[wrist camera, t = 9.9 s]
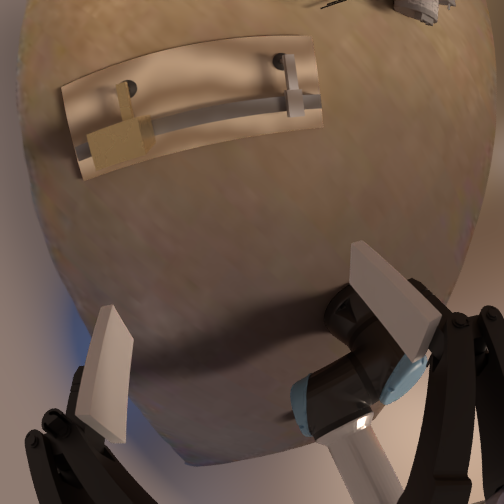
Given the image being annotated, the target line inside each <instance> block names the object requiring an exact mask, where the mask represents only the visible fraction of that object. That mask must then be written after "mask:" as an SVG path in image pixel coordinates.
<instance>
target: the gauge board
mask: <svg viewBox="0 0 504 504" xmlns="http://www.w3.org/2000/svg"><path fill="white" fill-rule="evenodd" d="M122 82H127V83H128V87H129V88H130V90H129V94H130V99H131V104H132V109H133V114H134V118H135V117H139V116H144V115H149V114H150V116H151V121H152V126H153V130H154V135H155V139H156V143H155V144H154V145H153V147H152V148H151V149H150V150H149V152H148V153H147V154H146V155H143V156H140V157H137V158H134V159H130V160H127V161H124V162H121V163H118V164H115V165H112V166H109V167H106V168H103V169H100V170H98V171H96V169H95V166H94V162H93V159H92V155H91V151H90V147H89V144H88V140H87V136H86V135H87V134H90V133H92V132H95V131H97V130H100V129H103V128H105V127H108V126H111V125H114V124H117V123H120V122H123V120H122V116H121V111H120V106H119V101H118V96H117V91H116V84H119V83H122ZM61 89H62V95H63V100H64V106H65V111H66V116H67V120H68V125H69V129H70V133H71V138H72V142H73V145H74V149H75V153H76V157H77V160H78V164H79V167H80V170H81V174H82V177H83V180H84V181H86V180H88V179H91V178H94V177H96V176H99V175H102V174H105V173H108V172H111V171H114V170H117V169H120V168H123V167H126V166H129V165H133V164H136V163H139V162H142V161H146V160H149V159H153V158H156V157H160V156H164V155H168V154H171V153H175V152H179V151H183V150H187V149H192V148H196V147H200V146H205V145H209V144H214V143H219V142H224V141H229V140H235V139H240V138H246V137H252V136H258V135H264V134H271V133H278V132H286V131H294V130H303V129H313V128H323V117H322V106H321V96H320V88H319V80H318V72H317V64H316V57H315V51H314V44H313V38H312V36H258V37H244V38H233V39H224V40H217V41H210V42H203V43H197V44H192V45H187V46H182V47H177V48H172V49H168V50H164V51H160V52H156V53H152V54H148V55H145V56H141V57H138V58H135V59H131V60H128V61H125V62H122V63H119V64H116V65H113V66H111V67H108V68H105V69H102V70H100V71H97V72H95V73H92V74H90V75H87V76H85V77H83V78H80V79H78V80H76V81H74V82H71V83H69V84H67V85H65V86H63V87H61Z"/></svg>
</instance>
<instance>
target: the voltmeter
mask: <svg viewBox="0 0 504 504" xmlns="http://www.w3.org/2000/svg"><path fill="white" fill-rule="evenodd" d="M338 1H339V2H338ZM338 1H334V2H331V3H328V4H327V6H325V7H322V8H321V9H323V8H326V7H328V6H331V5H334V4H337V3H340V2H343V1H346V0H342V1H341V0H338ZM335 2H337V3H335ZM332 3H334V4H332ZM329 4H331V5H329ZM439 4H441V5H448V10H450V6H456V4H455V0H394V9H395V10H396V11H397V12H399V13H401V14H403V15H406V16H408V17H411V18H414V19H417V20H420V22H424V23H426V24H425V25H430V26H433V23H437V19H438V6H439Z"/></svg>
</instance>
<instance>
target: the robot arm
mask: <svg viewBox="0 0 504 504" xmlns="http://www.w3.org/2000/svg"><path fill="white" fill-rule="evenodd" d="M349 284H350V285H349V286H348V287H346V288H344V289H343V290H342V291H341V292H339V293H338V294H337V295H336V296H335V297H334V298H333V300H332V301H331V302H330V304H329V306H328V307H327V309H326V312H325V316H324V322H325V325H326V327H327V328H328V330H329V331H330V333H331V334H332V335H333V336H335V337H336V338H337V339H339V340H340V341H341V342H343V343H344V344H345V345H347V346H348V347H349V349H350V350H351V352H350V353H348V354H347V355H345V356H343V357H341V358H340V359H338V360H336V361H334V362H332V363H331V364H329V365H327V366H325V367H323V368H321V369H320V370H318V371H316V372H314V373H310V374H308V376H306V377H304V378H303V379H301V380H299V381H297V382H296V383H295V384H294V385H293V386H292V388H291V393H290V398H291V405H292V409H293V413H294V416H295V419H296V422H297V424H298V425H299V428H300V430H301V432H302V433H303V435H304V436H306V437H312V436H313V437H314V439H315V441H316V443H319V444H322V445H325V446H327V447H328V449H329V451H330V453H331V455H332V458H333V459H334V462H335V464H336V466H337V468H338V470H339V473H340V475H341V477H342V479H343V481H344V483H345V485H346V487H347V489H348V492H349V494H350V496H351V498H352V500H353V502H354V504H468V501H469V496H470V493H471V488H472V482H471V480H470V479H469V477H468V475H467V473H468V467H469V461H470V455H471V447H472V440H473V431H474V419H475V406H476V411H477V418H478V425H479V433H480V441H481V453H482V475H483V490H484V496H485V500H484V501H480V502H477V503H473V504H504V318H503V316H502V314H501V313H500V311H499V310H498V309H497V308H495V307H493V306H484V307H483V308H482V309H481V312H480V314H479V315H476V316H471V317H467V316H466V315H465V314H463V313H459V312H454V313H452V312H451V311H450V310H449V309H448V308H447V307H446V306H445V305H444V304H443V303H442V302H441V301H440V300H439V299H438V298H437V297H436V296H435V295H433V293H432V292H430V291H429V290H428V289H427V288H426V287H425V286H424V285H423V284H422V283H421V282H419V281H417V280H415V279H413V278H411V279H408V280H406V279H405V278H404V277H403V276H402V275H401V274H400V273H399V272H398V271H397V270H396V269H395V268H393V267H392V266H391V265H390V264H389V263H388V262H387V261H386V260H385V259H384V258H382V257H381V256H380V255H379V254H378V253H377V252H376V251H375V250H373V249H372V248H371V247H370V246H369V245H368V244H367V243H365V242H364V241H363V240H361V241H358V242H354V243H351V260H350V279H349ZM133 341H134V339H133V338H132V336H131V334H130V333H129V331H128V329H127V328H126V326H125V324H124V323H123V321H122V319H121V318H120V316H119V314H118V313H117V311H116V309H115V307H114V305H113V304H112V305H107V306H103V307H101V309H100V312H99V315H98V318H97V322H96V325H95V328H94V332H93V335H92V339H91V343H90V346H89V350H88V354H87V358H86V362H85V366H79V367H78V369H77V371H76V372H75V374H74V377H73V382H72V386H71V390H70V391H71V393H70V395H69V400H68V405H67V410H66V415H65V414H63V412H61V411H60V410H59V409H56V408H55V409H50V410H49V411H47V412H46V413H45V414H44V417H43V419H42V429H43V430H44V431H45V432H47V433H46V434H42V433H41V432H40V431H38V430H35V429H34V430H31V431H30V432H29V433H28V434H27V435H26V438H25V448H26V454H27V459H28V463H29V468H30V472H31V476H32V480H33V484H34V488H35V491H36V494H37V497H38V501H39V504H158V503H157V502H156V501H155V500H154V499H153V498H152V497H151V496H150V495H149V494H148V493H147V492H146V491H145V490H144V489H143V488H142V487H141V486H140V485H139V484H138V483H137V481H135V479H134V478H133V477H132V476H131V475H130V474H129V473H128V471H126V469H125V468H124V467H123V466H122V464H121V463H120V462H119V461H118V460H117V458H116V457H115V456H114V455H113V453H112V452H111V451H110V449H109V448H108V447H107V446H106V445H104V441H105V439H107V440H108V441H109V442H111V443H126V419H127V401H128V387H129V376H130V366H131V357H132V349H133ZM428 349H429V350H430V351H431V352H432V354H431V356H430V358H429V360H428V362H427V357H426V355H425V354H426V352H427V350H428ZM487 349H488V350H487ZM488 351H489V352H488ZM429 364H430V368H429V379H428V389H427V397H426V404H425V410H424V416H423V423H422V427H421V432H420V437H419V442H418V446H417V451H416V454H415V459H414V462H413V466H412V470H411V473H410V476H409V479H408V483H407V486H406V488H405V490H403V488H402V486H401V484H400V482H399V480H398V478H397V476H396V474H395V472H394V470H393V468H392V466H391V464H390V462H389V460H388V458H387V456H386V454H385V452H384V451H383V448H382V447H381V445H380V443H379V441H378V439H377V437H376V435H375V433H374V431H373V429H372V427H371V421H372V418H373V415H374V413H373V411H372V409H371V408H370V406H371V405H373V404H374V403H376V402H377V401H379V400H380V402H381V403H383V404H384V405H388V404H390V403H392V402H394V401H396V400H398V399H399V398H400V397H402V396H403V395H404V394H405V393H407V392H408V391H409V390H410V389H411V388H412V387H413V386H414V385H415V384H416V382H417V381H418V380H419V379H420V377H421V376H422V374H423V373H424V371H425V369H426V367H428V365H429Z"/></svg>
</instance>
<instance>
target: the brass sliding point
mask: <svg viewBox="0 0 504 504" xmlns="http://www.w3.org/2000/svg"><path fill="white" fill-rule="evenodd" d="M129 90H130V88H129V87H128V83H127V82H122V83H119V84H116V91H117V96H118V101H119V106H120V111H121V116H122V120H123V122H120V123H117V124H114V125H111V126H108V127H105V128H103V129H100V130H97V131H95V132H92V133H90V134H87V135H86V136H87V140H88V144H89V147H90V151H91V155H92V159H93V162H94V166H95V169H96V171H98V170H100V169H103V168H106V167H109V166H112V165H115V164H118V163H121V162H124V161H127V160H130V159H134V158H137V157H140V156H143V155H146V154H147V153H148V152H149V150H150V149H151V148H152V147H153V145H154V144H155V143H156V139H155V135H154V130H153V126H152V121H151V116H150V114H149V115H144V116H139V117H135V118H134V114H133V109H132V104H131V99H130V94H129Z"/></svg>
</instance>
